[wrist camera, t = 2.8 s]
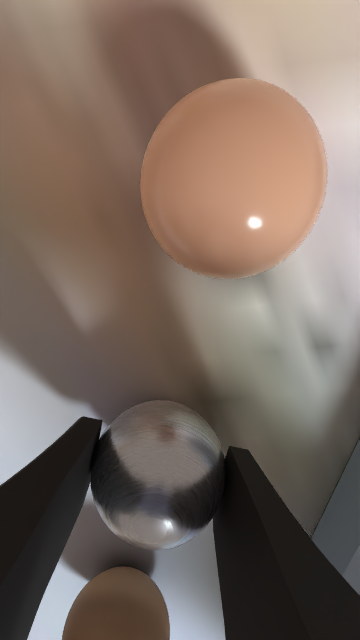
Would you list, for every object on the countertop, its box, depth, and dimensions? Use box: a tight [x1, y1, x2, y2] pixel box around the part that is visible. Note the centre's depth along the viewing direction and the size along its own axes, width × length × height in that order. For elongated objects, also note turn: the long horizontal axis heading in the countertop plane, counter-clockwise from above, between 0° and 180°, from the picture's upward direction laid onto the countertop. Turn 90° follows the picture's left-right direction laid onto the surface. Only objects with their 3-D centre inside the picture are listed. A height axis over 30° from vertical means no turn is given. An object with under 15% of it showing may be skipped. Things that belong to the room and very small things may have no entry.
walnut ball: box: [62, 566, 170, 640], centre depth 12 cm, size 4×4×4 cm
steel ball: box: [90, 400, 226, 550], centre depth 10 cm, size 4×4×4 cm
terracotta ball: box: [140, 78, 328, 279], centre depth 7 cm, size 4×4×4 cm
